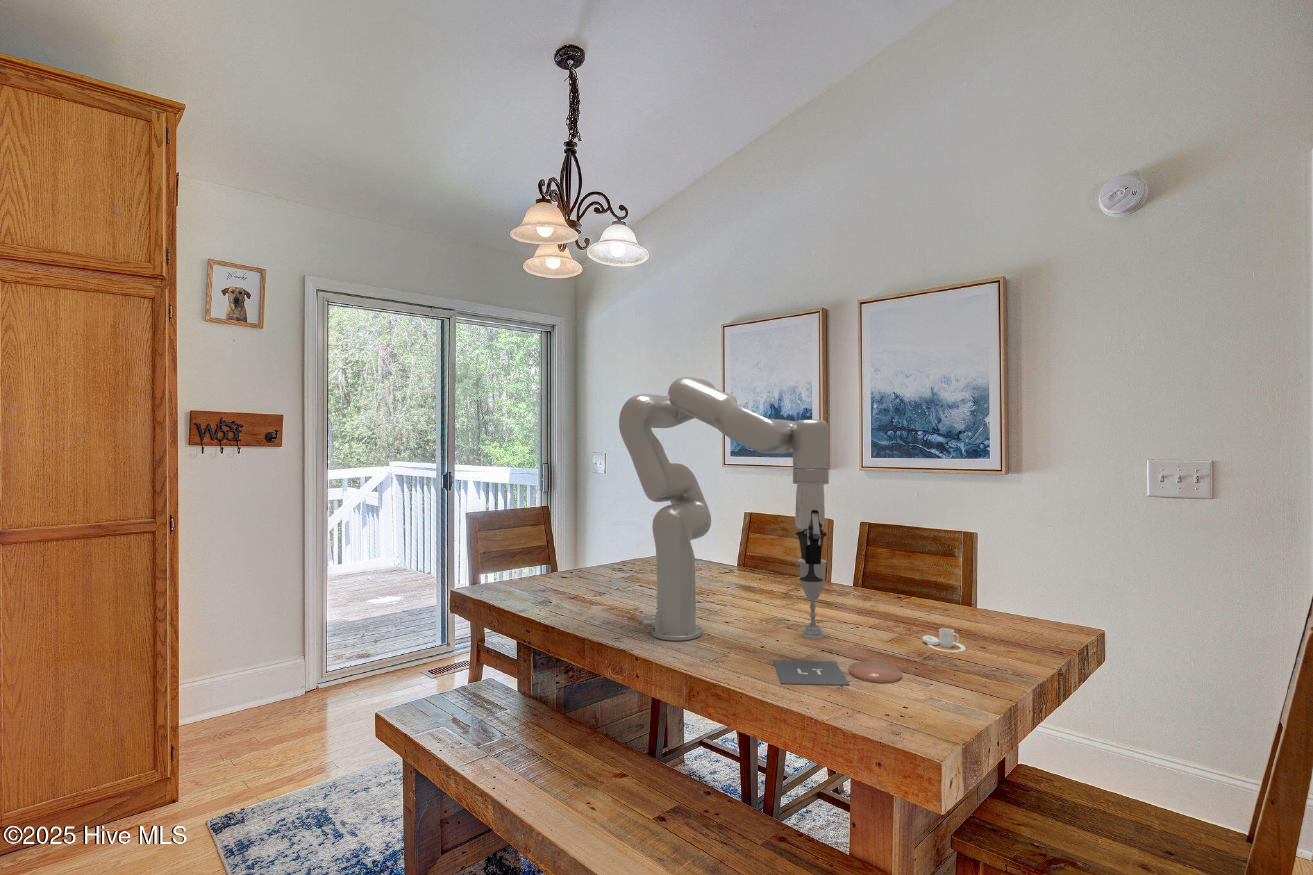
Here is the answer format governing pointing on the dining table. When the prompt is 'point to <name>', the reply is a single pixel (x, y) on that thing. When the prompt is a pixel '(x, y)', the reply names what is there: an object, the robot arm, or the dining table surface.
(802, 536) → the sundae
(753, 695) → the dining table surface
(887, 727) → the dining table surface
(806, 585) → the chalice
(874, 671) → the coaster
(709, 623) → the dining table surface
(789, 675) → the card
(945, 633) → the teacup and saucer
